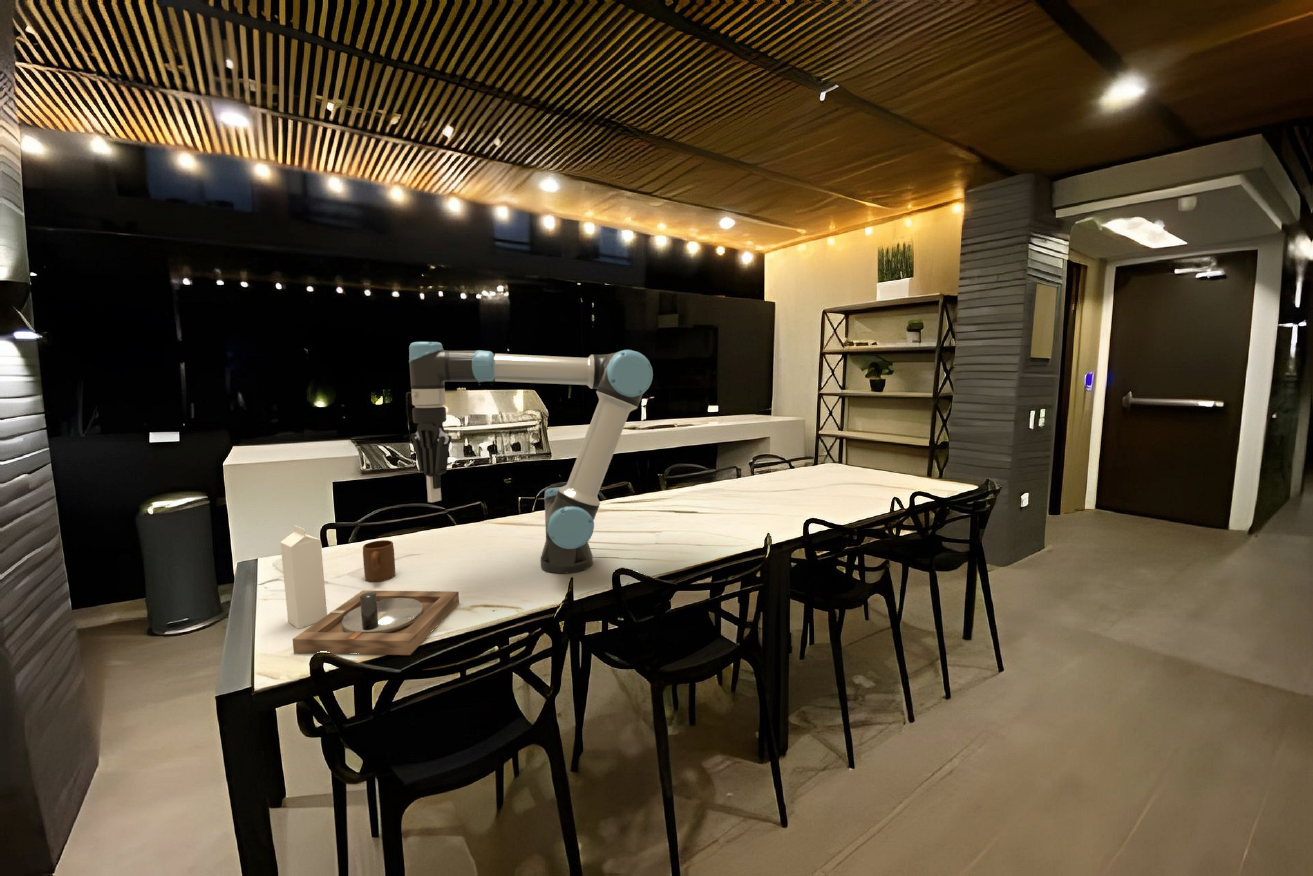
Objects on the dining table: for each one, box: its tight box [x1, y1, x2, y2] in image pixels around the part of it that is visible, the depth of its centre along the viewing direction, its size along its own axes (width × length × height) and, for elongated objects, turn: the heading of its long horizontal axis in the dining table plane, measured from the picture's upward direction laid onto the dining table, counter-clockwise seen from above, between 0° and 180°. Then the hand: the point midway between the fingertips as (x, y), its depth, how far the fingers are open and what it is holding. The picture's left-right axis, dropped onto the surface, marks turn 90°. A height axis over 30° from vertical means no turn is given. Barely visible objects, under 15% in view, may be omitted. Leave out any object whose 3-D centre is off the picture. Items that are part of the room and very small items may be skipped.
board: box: [292, 589, 460, 656], centre depth 119 cm, size 24×24×3 cm
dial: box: [342, 592, 423, 633], centre depth 118 cm, size 16×16×8 cm
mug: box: [362, 539, 396, 583], centre depth 145 cm, size 12×8×9 cm, turn 20°
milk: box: [280, 524, 328, 630], centre depth 120 cm, size 6×6×22 cm
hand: (434, 500), depth 132 cm, fingers closed
